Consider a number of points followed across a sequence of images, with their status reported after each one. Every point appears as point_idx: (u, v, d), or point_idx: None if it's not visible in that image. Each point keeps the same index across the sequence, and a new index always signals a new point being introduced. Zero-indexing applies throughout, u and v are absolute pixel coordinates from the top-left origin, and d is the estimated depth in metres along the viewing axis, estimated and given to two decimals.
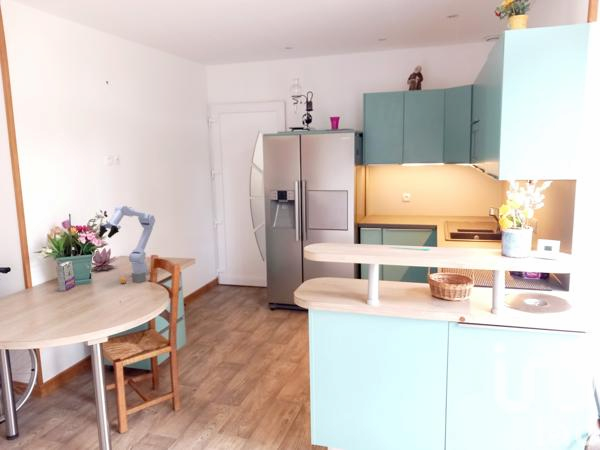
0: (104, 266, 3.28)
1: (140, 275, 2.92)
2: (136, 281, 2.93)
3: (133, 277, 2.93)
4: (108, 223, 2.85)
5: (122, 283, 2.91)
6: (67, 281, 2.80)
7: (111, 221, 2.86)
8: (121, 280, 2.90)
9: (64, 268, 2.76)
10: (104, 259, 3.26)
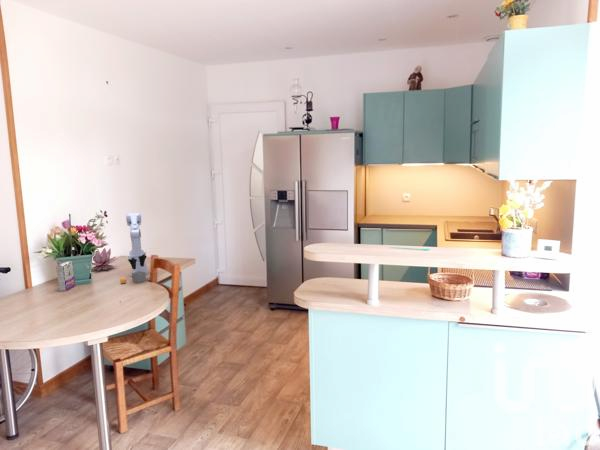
0: (104, 266, 3.28)
1: (140, 275, 2.92)
2: (136, 281, 2.93)
3: (133, 277, 2.93)
4: None
5: (122, 283, 2.91)
6: (67, 281, 2.80)
7: (141, 252, 2.93)
8: (121, 280, 2.90)
9: (64, 268, 2.76)
10: (104, 259, 3.26)
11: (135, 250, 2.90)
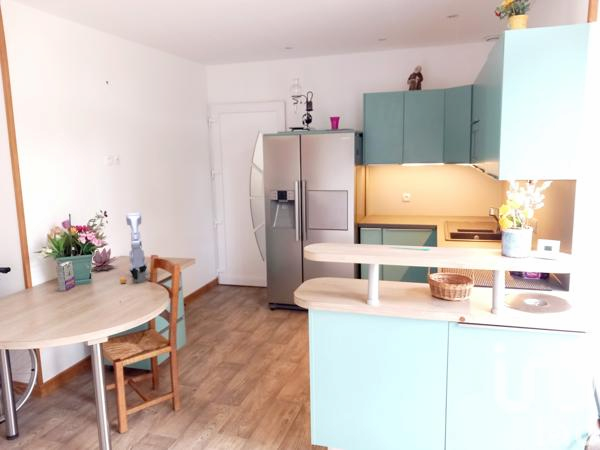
0: (104, 266, 3.28)
1: (140, 275, 2.92)
2: (136, 281, 2.93)
3: None
4: (142, 265, 2.93)
5: (122, 283, 2.91)
6: (67, 281, 2.80)
7: (141, 262, 2.94)
8: (121, 280, 2.90)
9: (64, 268, 2.76)
10: (104, 259, 3.26)
11: (136, 261, 2.91)
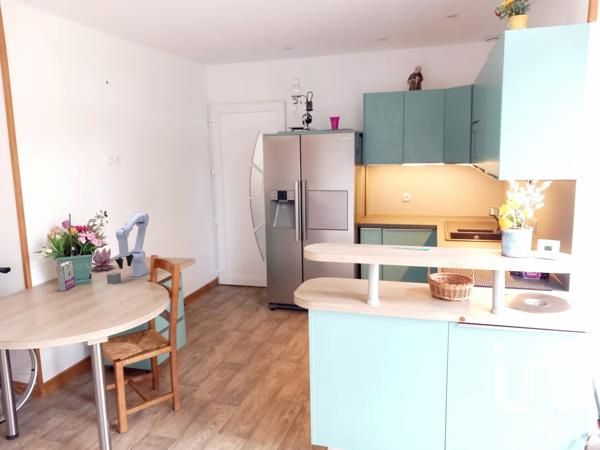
0: (104, 266, 3.28)
1: (115, 276, 2.91)
2: (111, 282, 2.92)
3: (108, 278, 2.92)
4: (128, 255, 2.94)
5: None
6: (67, 281, 2.80)
7: (128, 251, 2.94)
8: None
9: (64, 268, 2.76)
10: (104, 259, 3.26)
11: (122, 250, 2.91)
